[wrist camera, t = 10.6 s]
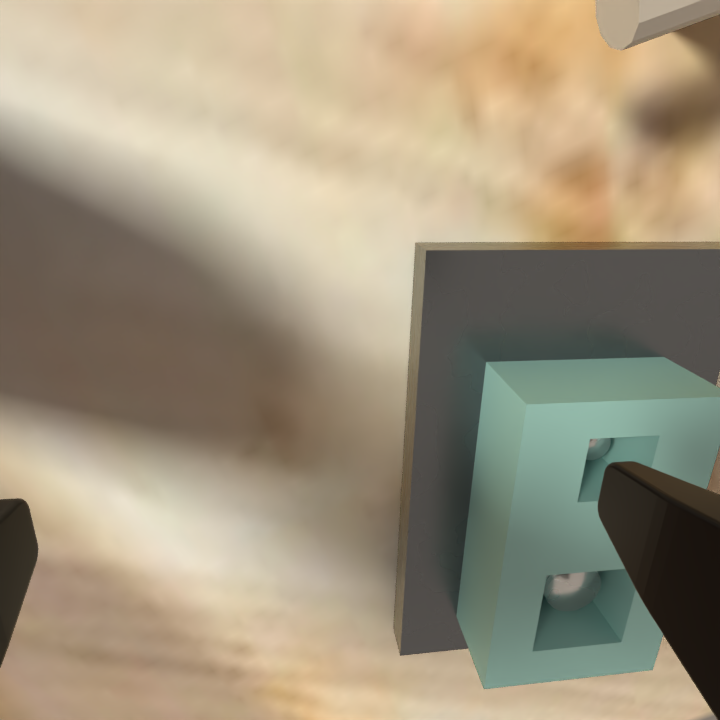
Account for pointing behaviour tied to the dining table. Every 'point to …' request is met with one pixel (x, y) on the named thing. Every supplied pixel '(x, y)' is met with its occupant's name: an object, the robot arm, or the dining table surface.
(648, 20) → the pipe connector
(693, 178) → the dining table surface
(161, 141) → the dining table surface
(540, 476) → the teal hollow block
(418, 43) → the dining table surface
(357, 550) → the dining table surface
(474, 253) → the post base
